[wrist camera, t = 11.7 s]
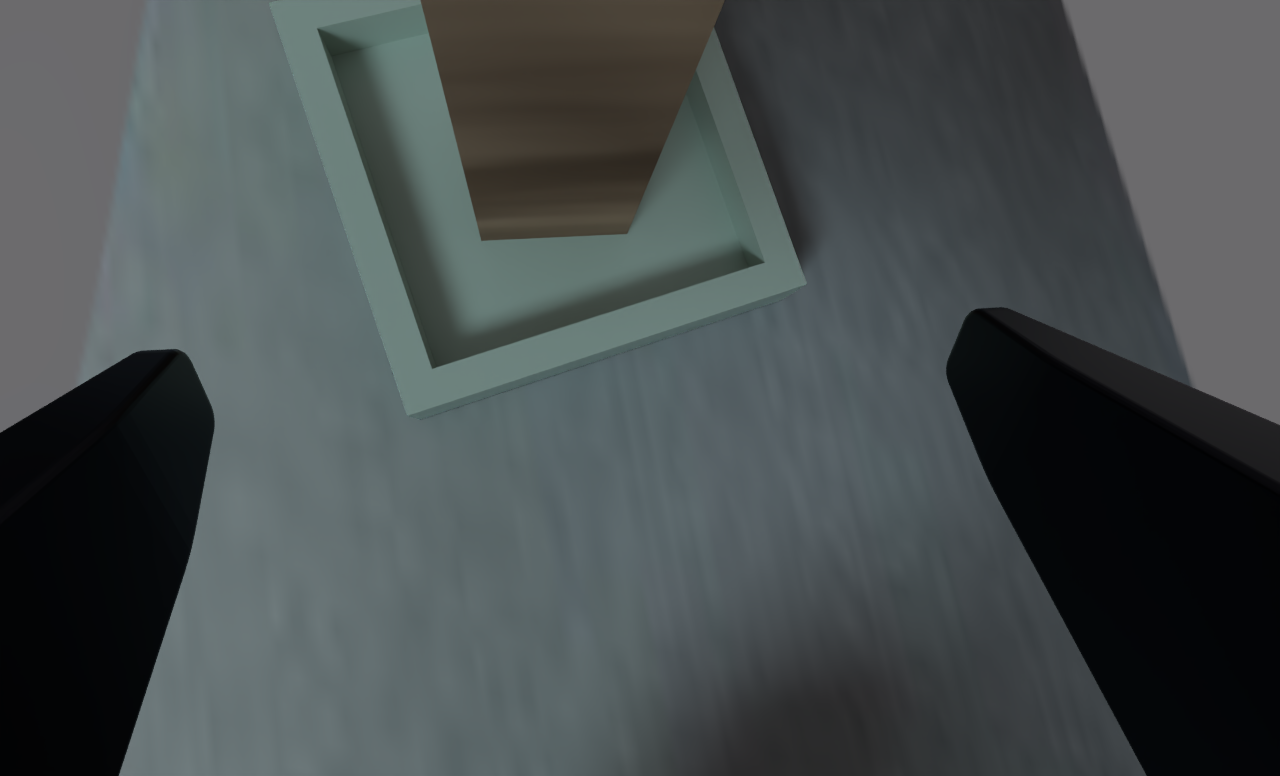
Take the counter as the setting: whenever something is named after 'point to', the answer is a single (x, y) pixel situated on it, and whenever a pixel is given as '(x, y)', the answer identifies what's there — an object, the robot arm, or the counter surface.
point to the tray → (520, 268)
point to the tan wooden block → (563, 104)
